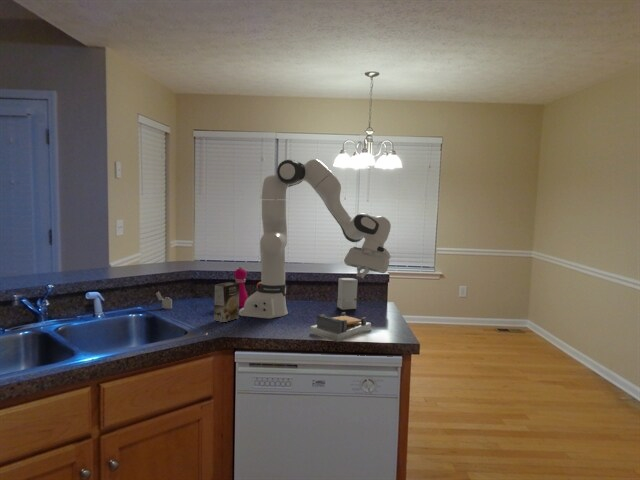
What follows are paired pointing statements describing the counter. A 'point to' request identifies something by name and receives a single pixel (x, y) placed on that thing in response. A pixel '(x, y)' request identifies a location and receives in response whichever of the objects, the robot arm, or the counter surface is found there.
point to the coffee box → (226, 302)
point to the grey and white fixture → (338, 328)
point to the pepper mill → (241, 285)
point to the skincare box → (347, 293)
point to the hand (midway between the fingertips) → (359, 277)
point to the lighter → (165, 301)
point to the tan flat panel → (348, 319)
